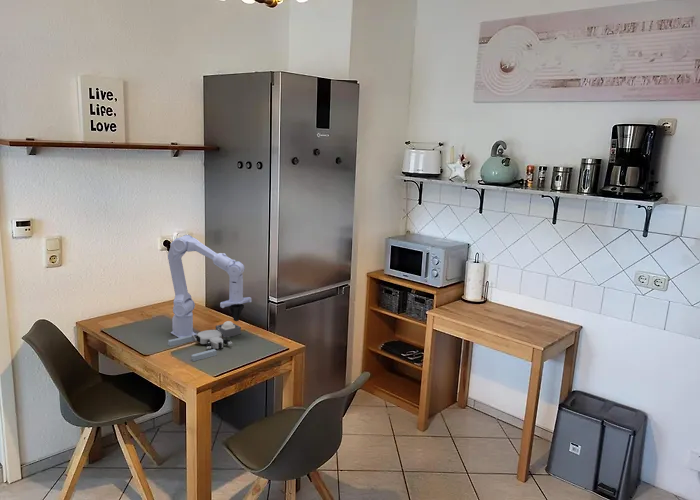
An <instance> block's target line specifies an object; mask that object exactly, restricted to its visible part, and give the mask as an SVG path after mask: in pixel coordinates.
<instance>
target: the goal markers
mask: <svg viewBox="0 0 700 500" xmlns="http://www.w3.org/2000/svg"><path fill="white" fill-rule="evenodd" d="M190 342H193V336H190V335H189V336H185V337H180V338H178V337H176V338H173V339H168V340H167V346H169V347H174V346H178V345H181V344H185V343H190ZM217 353H218V352H217V349H213V348H211V349H207V350H204V351H200V352H198V353H194V354H191V355H190V360H191V361H192V362H195V361H199V360H200V361H201V360H203V359H206V358H207V359H208V358H210V357H215V356H217V355H218V354H217Z"/></svg>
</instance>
